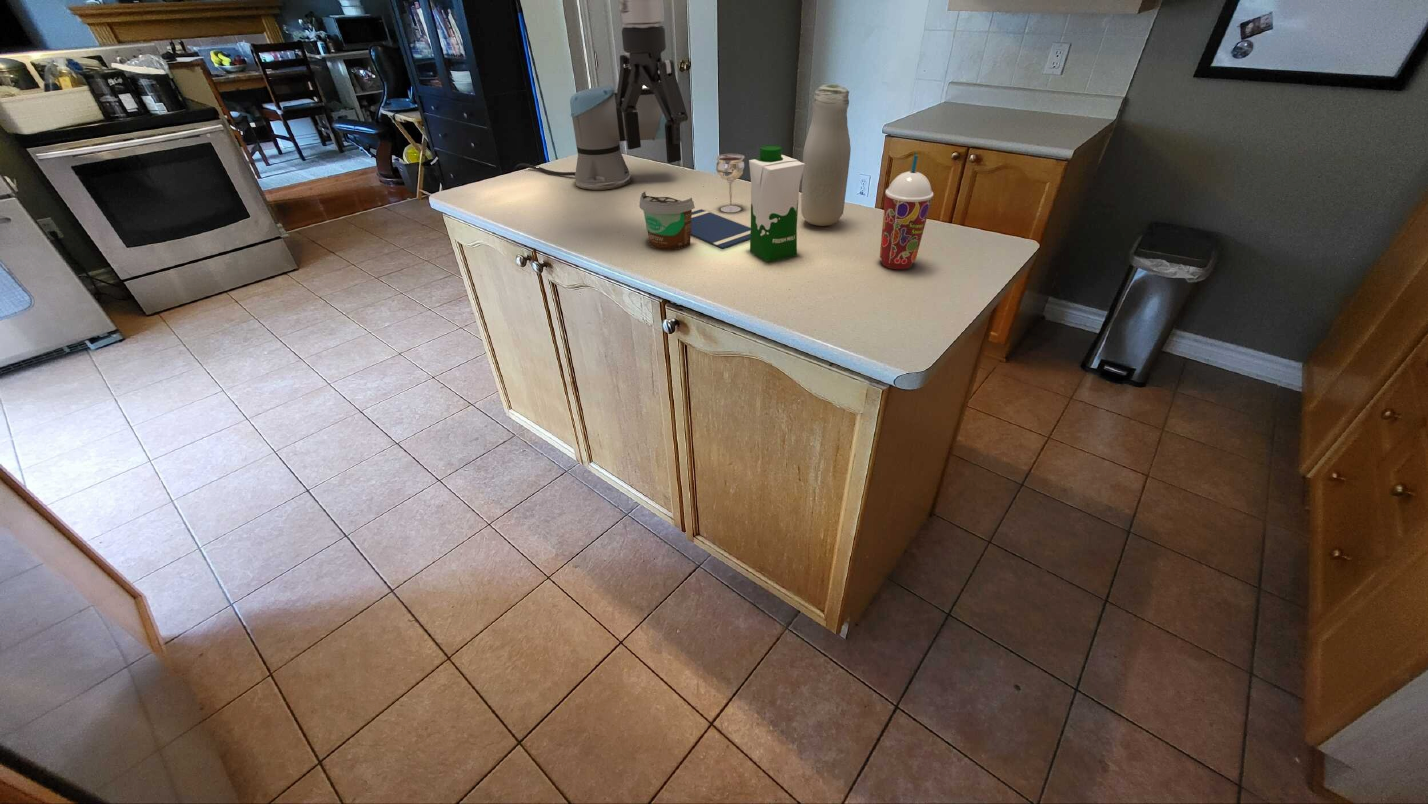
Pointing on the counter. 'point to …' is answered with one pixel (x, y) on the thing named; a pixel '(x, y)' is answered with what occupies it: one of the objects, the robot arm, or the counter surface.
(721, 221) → the cloth
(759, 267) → the counter surface
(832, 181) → the glass bottle
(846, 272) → the counter surface
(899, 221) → the smoothie
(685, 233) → the food container
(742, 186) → the counter surface
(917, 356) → the counter surface
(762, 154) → the milk carton
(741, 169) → the wineglass
